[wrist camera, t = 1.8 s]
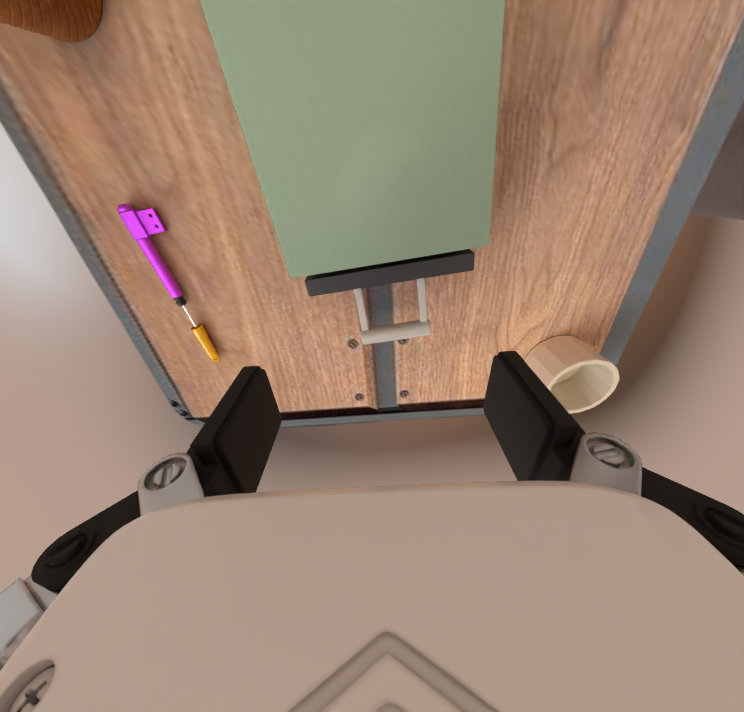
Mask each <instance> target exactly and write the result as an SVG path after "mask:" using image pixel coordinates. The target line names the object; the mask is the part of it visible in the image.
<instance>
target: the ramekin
mask: <svg viewBox="0 0 744 712" xmlns="http://www.w3.org/2000/svg"><path fill="white" fill-rule="evenodd" d="M525 362H526V363H527V365H528V366H529V367H530V368H531V369H532V370H533V372H534V373H535V374H536V375H537V376H538V377H539V379H540V380H541V381H542V382H543V383H544V385H545V386H546V387H547V388H548V389H549V390H550V392H551V393H552V394H553V395H554V396H555V397H556V399H557V400H558V401H559V402H560V403H561V404H562V406H563V407H564V408H565V409H566V410H567V411H568V413H577V412H582V411H585V410H587V409H590V408H593V407H595V406H596V405H598V404H599V403H601V402H602V401H604V400H605V399H607V398H608V397H609V395H610V394H611V393H612V392H613V391H614V390H615V388H616V386H617V383H618V381H619V374H618V369H617V368H616V367H615V366H614V365H613V364H612V363H611V362H610V361H608V360H607V359H606V358H604V357H603V356H602V355H600V354H599V353H598V352H596V351H595V350H594V349H592V348H591V347H590V346H588V345H587V344H586V343H585V342H583V341H582V340H580V339H578V338H576V337H574V336H568V335H562V336H556V337H552V338H549V339H547V340H545V341H543V342H541V343H540V344H538V345H537V346H536V347H534V348H533V349H532V350H531V351H530V352H529V354H528V355H527V357H526V359H525Z"/></svg>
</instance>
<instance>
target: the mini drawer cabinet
mask: <svg viewBox="0 0 744 712" xmlns="http://www.w3.org/2000/svg"><path fill="white" fill-rule="evenodd" d="M200 3H201V6H202V9H203V12H204V15H205V18H206V21H207V24H208V27H209V31H210V34H211V37H212V40H213V43H214V46H215V49H216V52H217V55H218V58H219V61H220V64H221V67H222V70H223V73H224V77H225V80H226V83H227V86H228V89H229V92H230V95H231V98H232V101H233V104H234V107H235V110H236V113H237V116H238V120H239V123H240V126H241V129H242V132H243V135H244V138H245V141H246V144H247V147H248V150H249V153H250V156H251V159H252V162H253V166H254V169H255V172H256V175H257V178H258V181H259V184H260V187H261V190H262V193H263V196H264V199H265V202H266V205H267V208H268V212H269V215H270V218H271V221H272V224H273V227H274V230H275V233H276V236H277V239H278V242H279V245H280V248H281V251H282V254H283V258H284V261H285V264H286V267H287V270H288V273H289V276H290V278H291V279H292V278H298V277H304V276H310V275H316V274H322V273H328V272H334V271H340V270H346V269H352V268H358V267H363V266H369V265H375V264H381V263H387V262H393V261H399V260H405V259H411V258H417V257H423V256H429V255H435V254H441V253H447V252H453V251H459V250H465V249H471V248H477V247H483V246H489V245H490V229H491V214H492V199H493V183H494V168H495V153H496V138H497V122H498V107H499V92H500V76H501V61H502V46H503V30H504V15H505V0H200Z"/></svg>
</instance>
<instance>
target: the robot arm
mask: <svg viewBox="0 0 744 712" xmlns="http://www.w3.org/2000/svg"><path fill="white" fill-rule="evenodd" d="M484 413H485V415H486V417H487V419H488V421H489V423H490V425H491V427H492V430H493V432H494V433H495V436H496V437H497V439H498V442H499V444H500V445H501V448H502V450H503V452H504V454H505V456H506V458H507V460H508V462H509V464H510V466H511V468H512V470H513V472H514V474H515V476H516V478H517V480H518V481H497V482H470V483H445V484H423V485H422V484H421V485H398V486H375V487H353V488H331V489H313V490H293V491H273V492H258V493H257V492H256V490H257V487H258V485H259V482H260V479H261V476H262V474H263V471H264V468H265V465H266V463H267V460H268V457H269V455H270V452H271V449H272V446H273V444H274V441H275V438H276V436H277V433H278V430H279V427H280V425H281V415H280V412H279V409H278V406H277V403H276V400H275V398H274V395H273V392H272V389H271V386H270V383H269V380H268V377H267V374H266V371H265V370H264V369H261V368H260V367H259V366H249V367H243V368H242V370H241V371H240V373H239V374H238V376H237V377H236V379H235V380H234V382H233V383H232V385H231V386H230V388H229V389H228V390H227V392H226V393H225V395H224V396H223V398H222V399H221V401H220V402H219V404H218V405H217V407H216V408H215V410H214V411H213V413H212V414H211V416H210V417H209V418H208V420H207V421H206V423H205V424H204V426H203V427H202V429H201V430H200V432H199V433H198V435H197V436H196V438H195V439H194V441H193V442H192V444H191V445H190V448H189V450H188V451H187V453H186V454H185V453H175V454H170V455H168V456H166V457H163V458H161V459H160V460H158V461H156V462H155V463H153V464H152V465H151V466H150V467H149V468H147V470H146V471H145V472H144V473H143V474H142V476H141V478H140V480H139V481H138V491H136V492H134V493H132V494H131V495H129V496H128V497H126V498H124V499H122V500H121V501H119V502H117V503H116V504H114V505H112V506H111V507H109V508H107V509H105V510H104V511H102V512H100V513H99V514H97V515H95V516H94V517H92V518H90V519H89V520H87V521H85V522H83V523H82V524H80V525H79V526H77V527H75V528H73V529H72V530H70V531H68V532H67V533H66V534H64V535H63V536H61V537H59V538H58V539H57V540H56V541H55V542H54V543H52V544H51V545H50V546H49V547H48V548H47V549H46V550H45V551H44V552H43V553H42V555H41V556H40V557H39V558H38V560H37V562H36V563H35V565H34V567H33V570H32V573H31V576H29V577H28V578H27V579H26V580H23V579H21V578H19V579H18V580H16V581H15V582H14V583H12V584H11V585H10V586H9V587H7V588H6V589H5V590H4V591H2V592H1V593H0V712H744V515H743V514H742V513H740V512H739V511H737V510H735V509H733V508H731V507H729V506H727V505H725V504H723V503H721V502H719V501H717V500H714V499H712V498H710V497H708V496H705V495H703V494H701V493H699V492H697V491H694V490H692V489H690V488H688V487H685V486H683V485H681V484H679V483H677V482H674V481H672V480H670V479H668V478H665V477H663V476H660V475H659V474H656V473H654V472H652V471H650V470H647V469H645V468H643V467H642V462H641V458H640V457H639V455H638V454H637V452H636V451H635V450H634V449H633V448H632V447H631V446H629V445H628V444H626V443H625V442H623V441H622V440H620V439H617V438H615V437H613V436H610V435H607V434H604V433H596V432H594V433H587V434H586V433H585V432H584V431H583V429H582V428H581V427H580V425H579V424H578V423H577V422H576V421H575V420H574V419H573V417H572V416H571V415H570V414H569V413H568V411H567V410H566V409H565V408H564V407H563V406H562V404H561V403H560V402H559V401H558V400H557V399H556V397H555V396H554V395H553V394H552V393H551V392H550V390H549V389H548V388H547V387H546V386H545V385H544V383H543V382H542V381H541V380H540V379H539V377H538V376H537V375H536V374H535V373H534V372H533V370H532V369H531V368H530V367H529V366H528V365H527V363H526V362H525V361H524V360H523V359H522V358H521V356H520V355H519V354H518V353H517V352H516V351H504V352H499V353H498V355H497V356H494V358H493V362H492V367H491V372H490V377H489V381H488V386H487V391H486V396H485V401H484Z"/></svg>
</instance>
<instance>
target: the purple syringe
mask: <svg viewBox="0 0 744 712" xmlns="http://www.w3.org/2000/svg"><path fill="white" fill-rule="evenodd" d="M117 210H118V211H119V215H120V217H121V219H122V220H123V222H124V223H125V225H126V227H127V228H128V230H129V231H130V233H131V235H132V236H133V238H134V239H135V240H137V242H138V244H139V245H140V247H141V249H142V250H143V252H144V253H145V255H146V257H147V258H148V260H149V261H150V263H151V265H152V266H153V268H154V269H155V271H156V273H157V274H158V276H159V278H160V279H161V281H162V282H163V284H164V286H165V287H166V289H167V290H168V292H169V294H170V295H171V297H172V298H173V299H174V300H175V301H176V304H178V305H179V306H183V308H184V310H185V311H186V313H187V315H188V316H189V318H190V319H191V321H192V323H193V324H194V327H192V328H191V331H192V332H193V334H194V335H195V337H196V339H198V340H199V342H200V343H201V345H202V346H203V348H204V350H205V351H206V353H207V355H208V356H210V357H211V358H212V360H213V362H217V361H220V359H219V357H218V355H217V351H216V349H215V348H214V346H213V344H212V343H211V341H210V339H209V337H208V336H207V335H208V334H207V332H206V331H205V329H204V327H203V325H196V323H195V322H194V320H193V318H192V317H191V315H190V313H189V312H188V310H187V308H186V307H185V304H186V300H185V299H184V298H183V293H182V292H181V290H180V288H179V287H178V285H177V283H176V282H175V280H174V278H173V276H172V275H171V273H170V271H169V270H168V268H167V266H166V265H165V263H164V261H163V260H162V258H161V256H160V255H159V253H158V251H157V249H156V248H155V246H154V244H153V243H152V241H151V239H150V238H149V237H150V236H153V234H155V233H159V232H163V231H167V230H166V228H165V226H164V224H163V222H162V220H161V219H160V217H159V215H158V213H157V211H156V210H155V208H150V209H146V210H141V211H139V210H133V209H132V207H131V206H129V205H127V204H121V205H118V208H117ZM151 214H152V216H151ZM157 225H158V226H157ZM215 358H217V359H215Z"/></svg>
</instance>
